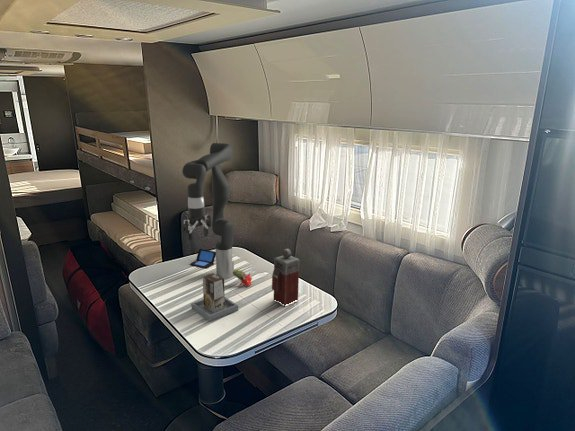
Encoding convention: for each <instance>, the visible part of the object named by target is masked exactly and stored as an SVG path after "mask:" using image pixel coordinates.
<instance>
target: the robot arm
mask: <svg viewBox="0 0 575 431" xmlns="http://www.w3.org/2000/svg"><path fill="white" fill-rule="evenodd" d="M232 157H233V147H232V145H231V144H229V143H224V142H223V143H221V142H213V143H211V145H210V147H209V153H208V154H206V155H203V156H201V157H200V158H198V159H197V160H196V159H195V160H191V161H189V162H186V163H185V164H184V165H183V167H182V172H181V173H182V176H183V177H184V178H186V179H193V180H195V182H193V183H189V184H188V186H187V208H188V219H183V220H182V231H183V232H184V233H185V234H187V236H186V237H187V239H188V241H193V233H192V232H193V230H195V228H197V227H202V228H203V236H204V237H208V235H209V228H211V230H212V232H213V234H214V235H216V236H219V237H221V238H220V239H221V240H218V241H217V242H216V243H215V252H216V256H215V271H216V273H215V274H216V275H218V276H220V277H222V278H224V280H227V279H230V278H232V277H233V276H234V274H233V272H234V270H235V261H234V259H233V244H234V236H235V226H234V223H233V222H232V221H229V220H227V219H224V211H225V207H226V205H227V204H228V202H229V200H230V196H231V195H230V193H231V192H230V191H231V190H230V184H229V181H228V179H227V178H226V176H225V174H224V172H223V171H222V169H221V164H223V163H224V162H228V161H230V160H231V159H232ZM210 170H211V180H212V187H211V188H212V190H211V191H212V218H211V215H210V214H206V213H205V211H206V209H205V197H204V183H205V179H206V174H207V172H209V171H210Z"/></svg>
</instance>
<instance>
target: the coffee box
mask: <svg viewBox="0 0 575 431" xmlns="http://www.w3.org/2000/svg"><path fill="white" fill-rule="evenodd" d="M202 292H203V294H202V295H203V299H204V308H206V309H208V310H209V311H211V312H213V313H216V312H219V311H221V310H224V309H225V297H226V293H225V279H224V278H222V277H220V276H218V275H216V273H210V274H207V275H205V276H202Z"/></svg>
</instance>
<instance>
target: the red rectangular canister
mask: <svg viewBox="0 0 575 431" xmlns="http://www.w3.org/2000/svg"><path fill="white" fill-rule="evenodd" d="M271 275H272V276H271V289H272V290H273V301H274V300H276V301H279V302H281V303H282V304H284V305H286V304H289V303H291V302H293V301H295V300H298V301H299V284H300V283H299V280H300V279H299V278H300V276H299V275H300V259H299V258H298V257H295V256H292V251H291V249H290V248H284V249H283V250H282V255H280V256H276V257H274V262H273V271H272V274H271Z"/></svg>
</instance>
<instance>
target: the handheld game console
mask: <svg viewBox="0 0 575 431" xmlns="http://www.w3.org/2000/svg"><path fill="white" fill-rule="evenodd" d="M215 260H216V251H213V250H208V249H204V248H203V249H202V248H200V249H198V253H197V256H196V259H195V260H194V261H193V262H191V263H190V266H192V267H198V268H203V269H209V268H211V267H212V266H214V262H215Z"/></svg>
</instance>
